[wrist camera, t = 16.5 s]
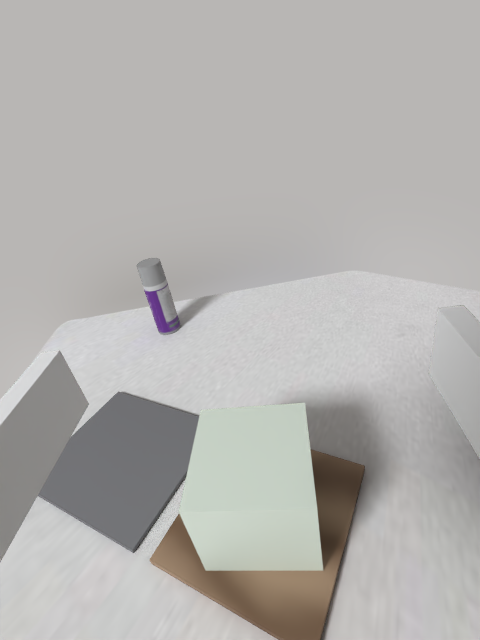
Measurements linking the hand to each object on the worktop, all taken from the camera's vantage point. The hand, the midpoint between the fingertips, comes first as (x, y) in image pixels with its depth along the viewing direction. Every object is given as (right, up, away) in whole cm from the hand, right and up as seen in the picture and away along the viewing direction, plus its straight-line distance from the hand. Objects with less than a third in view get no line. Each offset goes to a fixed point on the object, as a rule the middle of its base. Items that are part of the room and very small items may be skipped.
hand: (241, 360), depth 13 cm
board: (+3, -19, +26) cm, 32 cm away
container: (-15, 0, +62) cm, 64 cm away
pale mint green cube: (+2, -19, +25) cm, 31 cm away
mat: (-16, -17, +36) cm, 42 cm away
